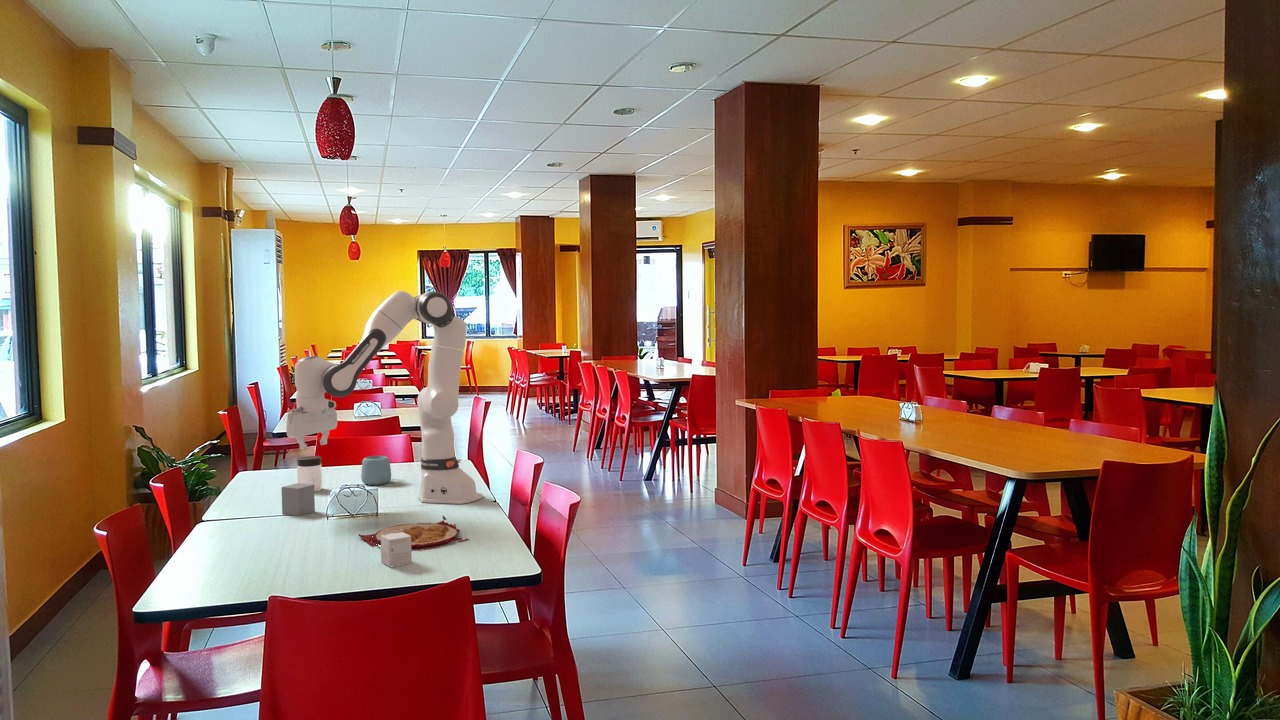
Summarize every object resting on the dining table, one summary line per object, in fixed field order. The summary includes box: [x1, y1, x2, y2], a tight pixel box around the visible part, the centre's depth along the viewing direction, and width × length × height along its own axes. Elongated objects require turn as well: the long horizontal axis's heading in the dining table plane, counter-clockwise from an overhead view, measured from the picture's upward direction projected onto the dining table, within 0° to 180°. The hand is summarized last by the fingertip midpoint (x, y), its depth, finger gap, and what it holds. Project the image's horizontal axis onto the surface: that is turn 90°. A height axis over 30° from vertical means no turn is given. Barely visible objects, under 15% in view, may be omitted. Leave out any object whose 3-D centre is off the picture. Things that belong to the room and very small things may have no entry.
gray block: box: [281, 482, 316, 517], centre depth 287 cm, size 7×7×9 cm
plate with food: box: [358, 515, 470, 551], centre depth 253 cm, size 25×26×4 cm
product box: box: [380, 532, 413, 568], centre depth 229 cm, size 6×6×7 cm
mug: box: [360, 455, 392, 486], centre depth 337 cm, size 15×11×10 cm
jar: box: [296, 455, 323, 492], centre depth 323 cm, size 9×8×12 cm
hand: (313, 447), depth 293 cm, fingers open, 8 cm apart
